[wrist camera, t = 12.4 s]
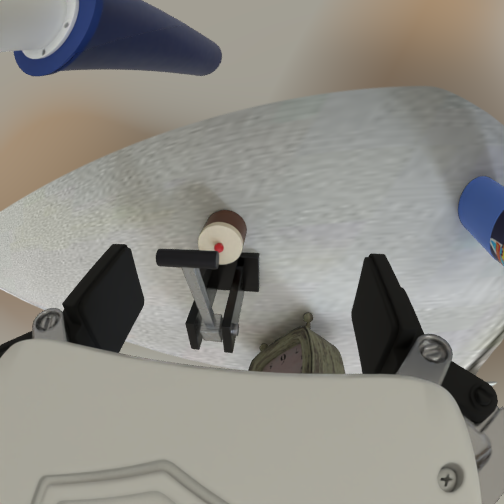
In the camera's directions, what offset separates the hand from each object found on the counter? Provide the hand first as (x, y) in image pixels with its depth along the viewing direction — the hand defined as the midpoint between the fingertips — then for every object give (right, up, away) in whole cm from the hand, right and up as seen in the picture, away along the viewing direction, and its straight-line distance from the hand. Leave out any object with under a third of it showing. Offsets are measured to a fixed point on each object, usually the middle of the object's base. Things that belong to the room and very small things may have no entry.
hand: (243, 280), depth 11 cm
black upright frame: (-3, -1, +32) cm, 32 cm away
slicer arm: (-4, -3, +18) cm, 19 cm away
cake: (-3, +4, +29) cm, 29 cm away
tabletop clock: (+8, -14, +39) cm, 42 cm away
